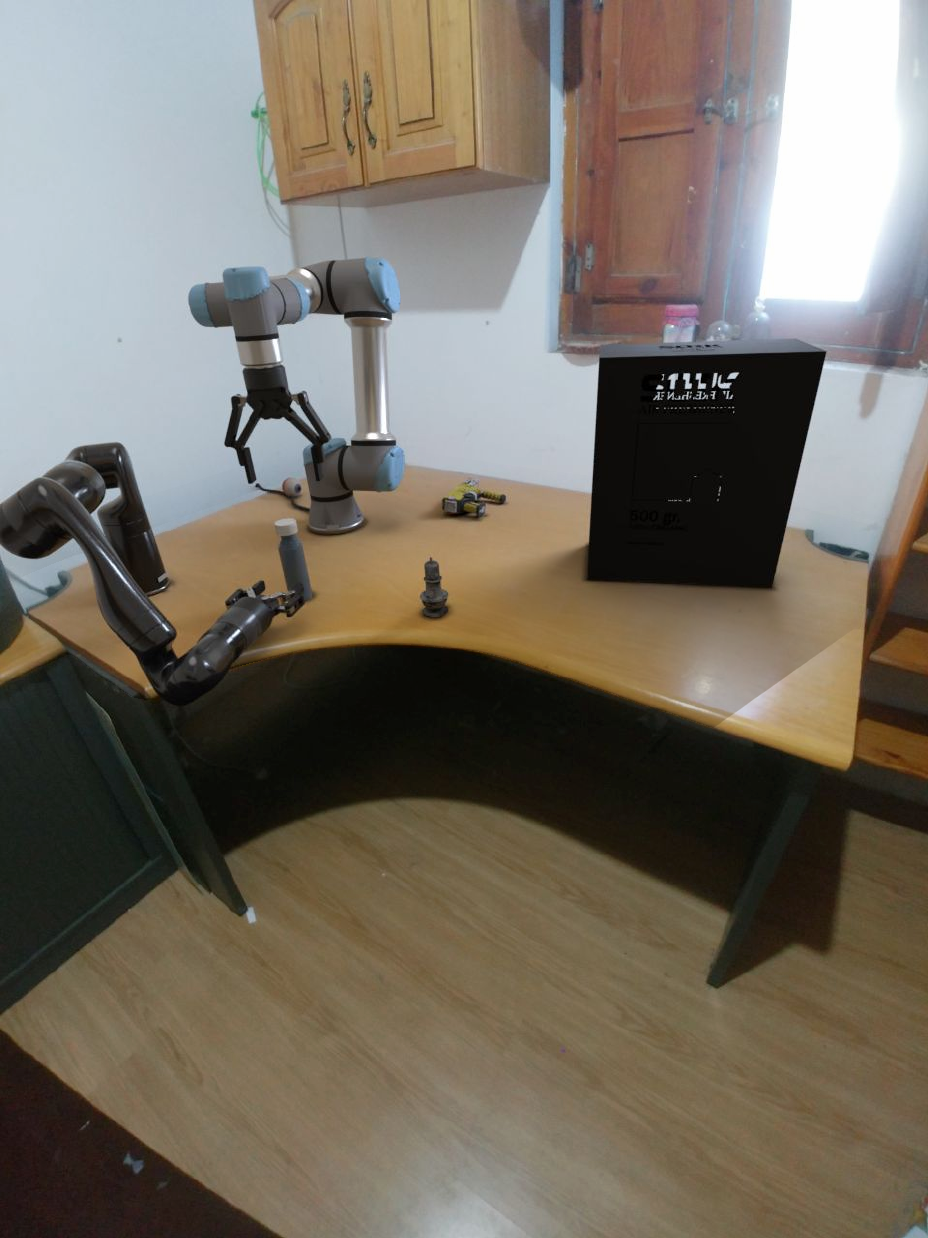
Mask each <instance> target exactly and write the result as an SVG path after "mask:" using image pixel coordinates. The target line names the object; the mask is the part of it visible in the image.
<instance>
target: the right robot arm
mask: <svg viewBox="0 0 928 1238" xmlns="http://www.w3.org/2000/svg"><path fill="white" fill-rule="evenodd" d="M268 274H269V273H268V271H267V269H266V268H265V267H263V266H237V267H228V268H225V269H223V271H222V275H221V276H222V281H220V282H204V283H197V284H195V285H193V286H192V287H191V288H190V290H189V291H188V296H187V303H188V306H189V309H190V314H191V316H192V317H193V319H194V321H196V323H197V324H199V325H200V326H202V327H204V328H215V329H218V328H226V327H232V328H233V332H234V339H235V343H236V348H237V353H238V359H239V363H240V365H241V366H242V367H244V368H243V369H242V371H241V372H242V376H243V381H244V385H245V390H246V395H241V394H240V393H237V394H234V395H232V396H231V397H230V404H231V412H230V416H229V420H228V425H227V429H226V433H225V437H224V441H223V444H224V446H225V447H226V448H230V449H234V450H235V452H236V457H237V460H238V464H239V466H240V467H244V471H245V476H246V480H247V484H248V485H252V484H254V483H255V482H256V481H257V480H258V479H257V475H256V471H255V466H254V462H253V457H252V453H251V448H250V446H246V444H247V442H248V441H249V439H250V438H251V436H252V433H253V432H254V430H255V428H256V427H257V425H258V423H259V421H260V420H261V419H262V420H264V421H268V420H271V419H273V420H281V419H282V418H284V419H285V421H286V422H289V423H290V424H291V425H292V426H293V427H294V428H295V429H296V430H298V431H299V433H300V434H302V435H303V436H304V437H305V438H306V439H307V441H309V442H310V443H309V444H308V445H306V446H305V447H304V448H303V450H302V457H303V458H302V460H303V467H304V471H305V477H306V481H307V486H308V492H309V498H310V507H306V506H302V505H299V504H297V503H296V502H295V497H292V496H288V495H286V494H285V493H284V492H283V490H278V489H268V488H265V487H262V486H261V484H260V483H257V482H256V483H255V485H254V487H255V488H258V489H259V490H260V491H262V492H267V493H273V494H274V493H275V494H280V495H283V496H287V497H288V498H289V499H290V501H291V505H292V506H293V507H295V508H297V509H299V510H303V511H306V512H309V513H308V521H307V522H308V523H307V524H308V528H309V529H308V530H310V531H311V532H312V533H314V534H317V535H323V536H324V535H325V536H327V535H329V536H331V535H339V534H340V535H341V534H345V533H350V532H353V531H355V530H357V529H359V528H361V527H362V526H363V525H364V523H365V519H364V514H363V512H362V510H361V508H360V505H359V504H358V501H357V500H356V498H355V495H354V492H355V491H356V492H376V493H382V492H383V493H384V492H387V493H388V492H389V493H391V492H393V491H395V490H397V489H398V487H400V485H401V482H402V481H403V478H404V472H405V469H406V468H405V466H406V456H405V454H404V453H405V451H404V450H403V449H404V448H402V447H401V446H399V445H397V438H396V437H395V436H394V435H393V433H392V432H391V423H390V400H389V399H390V397H389V396H390V395H389V367H388V366H389V365H388V339H387V338H388V337H387V330H388V328H389V327H390V326H391V325H392V323H393V314H396V313H397V312H399V310H400V308H401V307H400V305H401V290H400V285H399V281H398V277H397V274H396V272H395V270H394V267H393V266H392V265H391V263H390V262H389V261H388V260H387V259H385V258H383V257H369V256H366V257H361V258H360V257H359V258H349V259H337V260H336V259H335V260H324V261H321V262H317V263H313V264H309V265H307V266H303V267H297V268H293V269H291V270H290V271H288V272H287V273H286V274H279V275H272V276H271V275H270V276H269V275H268ZM311 314H317V315H331V316H332V315H333V316H343V321H344V323H345V324H346V325H347V326H348V327H349V329H350V337H351V338H350V339H351V356H352V375H353V377H352V379H353V394H354V395H353V396H354V413H355V415H354V416H355V433H354V434H353V435H352V436H351V437H350V445H348V444H347V441H346V439H345V438H343V437H334V438H332V435H331V433H330V431H329V430H328V429H327V427H326V426H325V424H324V423H323V421H322V420H321V417H320V416H319V415H318V414H317V413H318V412H316V410H315V409H314V407H313V406H312V404H311V402H310V399H309V395H308V392H307V391H306V390H302V391H300V392H296V393H291V391H290V388H289V381H288V376H287V372H286V367H285V366H284V365H283V364H281V363H283V362H284V357H283V356H284V355H283V349H282V346H281V339H280V334H279V328H278V326H284V325H296V324H297V323H299V322H302V321H303V320H305V319H306V318H307V317H308V315H311ZM293 402H295V404H296V405H297V406H299V407H300V409H301V411H302V412H303V414H304V416H305V417H306V418H307V420H308V422H309V423H310V424H311V426H312V428H311V426H310V425H308V423H306V421H304V419H302V418H301V417H300V415H299V414H298V413H297V412H296V411H295V410H294V409H293V408H292V403H293ZM246 404H247V405H248V406H249V408H251V409H252V412H251V413H250V416H249V417H248V421H247V422H246V424H245V426H244V428H243V429H242V431H241V433H240V434H239V436H238V438H237V435H238V433H239V432H238V431H239V427H240V423H241V419H242V415H243V410H244V407H246Z"/></svg>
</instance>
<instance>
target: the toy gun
mask: <svg viewBox="0 0 928 1238" xmlns="http://www.w3.org/2000/svg"><path fill="white" fill-rule="evenodd" d="M477 485H479V479H478V478H474V479H473V477H469V478H467V480H466V481H464V482H462V483H460V484H459V485H458V486H456V488H454V489H453V490H451V491H450V492H449V493H448V494H446V495H445V496H444V497H443V498H442V499H441V510H442V511H443V512H444V513H446V514H448V515H453V514H457V515H458V514H462V513H471V514H475V515H476V518H480V517H482V516H483V515H485V514H486V504H487V503H486V502H484V501H482V502H480V501H479V500H480V499H481V498H483V499H485V500H486V499H487V500H491V501H494V502H498V503H501V504H503V503H505V502H506V500H507V495H505V494H504V493H498V492H497V493H496V492H492V491H488V490H483V491H482V492H481V490H480V488H479V486H477Z"/></svg>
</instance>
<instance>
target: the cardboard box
mask: <svg viewBox="0 0 928 1238" xmlns="http://www.w3.org/2000/svg"><path fill="white" fill-rule="evenodd" d="M827 352H828V351H827V350H824V349H822V348H820V347H818V346H815V345H813V344H811V343H808V342H806V341H802V340H801V339H799V338H768V339H766V338H765V339H737V340H736V339H735V340H709V341H708V340H707V341H705V340H703V341H675V342H672V341H671V342H648V343H647V342H646V343H645V342H644V343H643V342H642V343H616V344H615V343H614V344H612V343H611V344H600V348H599V355H598V356H599V358H598V370H597V371H598V372H597V390H596V391H597V392H596V409H595V410H596V411H595V426H594V445H593V459H592V460H593V461H592V462H593V463H592V479H591V497H590V515H589V532H588V533H589V535H588V547H587V548H588V549H587V568H586V580H588V581H611V582H635V583H655V584H657V583H658V584H675V585H676V584H679V585H698V586H699V585H703V586H725V587H743V588H744V587H745V588H746V587H747V588H768V589H773V586H774V582H775V578H776V573H777V569H778V565H779V560H780V555H781V550H782V548H783V543H784V540H785V539H784V538H785V534H786V530H787V525H788V521H789V517H790V513H791V512H790V511H791V509H792V504H793V499H794V496H795V490H796V486H797V483H798V477H799V474H800V469H801V465H802V461H803V456H804V451H805V447H806V444H807V443H806V442H807V439H808V434H809V429H810V425H811V421H812V416H813V412H814V408H815V404H816V400H817V395H818V391H819V387H820V382H821V378H822V373H823V368H824V365H825V360H826V356H827ZM685 374H689V378H688V385H690V388H686V384H687V379H685V378H684V375H685ZM699 374H700V379H699V378H697V375H699ZM715 374H716V380H715V384H714V386H713V383H714V378H715ZM731 374H736V376H735V378H729V377H730V376H731ZM672 375H677V378H676V379H675V380H674V384H673V385H674V387H673V388H671V385H672V379H671V378H670V377H671V376H672ZM719 379H720V381H719ZM700 384H701V385H705V387H704V388H699V385H700ZM719 384H720V385H724V384H729V387H720V386H719ZM659 386H661V387H662V388H658V387H659Z"/></svg>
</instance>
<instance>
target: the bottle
mask: <svg viewBox="0 0 928 1238" xmlns="http://www.w3.org/2000/svg"><path fill="white" fill-rule="evenodd" d="M277 550H278V555H279V560H280V563H281V568H282V573H283V578H284V581H285V586H286V590H287V591H286V592H288V591H291V589H292V588H293V587H294V586H295V585H296V584H297V583H298V582H301V583H302V585H303V586H304V593H303V597H304V601H305V602H306V601H309V600H310V599H312V598H313V591H312V585H311V581H310V576H309V570H308V565H307V560H306V555H305V551H304V545H303V542H302V540H300V539H299V537H298V536H297V535H296V533H295V534H293V535H289V536H280V538H279V542H278V543H277ZM290 599H291V596H289V597H288V600H290Z"/></svg>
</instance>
